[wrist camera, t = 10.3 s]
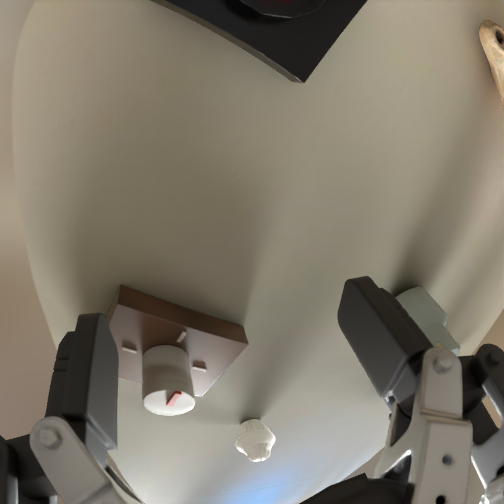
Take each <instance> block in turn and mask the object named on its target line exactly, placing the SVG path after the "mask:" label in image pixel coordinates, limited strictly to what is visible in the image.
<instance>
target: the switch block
mask: <svg viewBox="0 0 504 504" xmlns="http://www.w3.org/2000/svg"><path fill="white" fill-rule="evenodd" d="M151 1H153V2H156V3H158V4H160V5H162V6H164V7H166V8H169V9H171V10H173V11H175V12H177V13H179V14H181V15H183V16H185V17H187V18H189V19H191V20H193V21H195V22H197V23H199V24H201V25H202V26H204V27H206V28H208V29H210V30H212V31H213V32H215V33H217V34H219V35H220V36H222V37H224V38H226V39H227V40H229V41H231V42H233V43H234V44H236V45H238V46H239V47H241V48H242V49H244V50H246V51H247V52H249V53H250V54H252V55H254V56H255V57H257V58H258V59H260V60H261V61H263V62H264V63H266V64H267V65H269V66H270V67H272V68H273V69H275V70H276V71H278V72H279V73H281V74H282V75H284V76H285V77H286V78H288V79H289V80H291V81H292V82H299V83H305V81H306V80H307V79H308V77H309V76H310V74H311V73H312V72H313V70H314V69H315V68H316V66H317V65H318V64H319V62H320V61H321V60H322V58H323V57H324V56H325V54H326V53H327V52H328V50H329V49H330V48H331V46H332V45H333V44H334V42H335V41H336V40H337V38H338V37H339V36H340V34H341V33H342V32H343V31H344V29H345V28H346V27H347V25H348V24H349V23H350V22H351V20H352V19H353V18H354V16H355V15H356V14H357V13H358V11H359V10H360V9H361V8H362V6H363V5H364V4H365V3H366V1H367V0H151Z"/></svg>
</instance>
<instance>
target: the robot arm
mask: <svg viewBox="0 0 504 504" xmlns="http://www.w3.org/2000/svg"><path fill="white" fill-rule="evenodd" d="M338 323H339V326H340V328H341V330H342V332H343V334H344V335H345V337H346V339H347V340H348V342H349V344H350V345H351V347H352V349H353V351H354V352H355V354H356V356H357V357H358V359H359V361H360V363H361V364H362V366H363V368H364V370H365V371H366V373H367V375H368V377H369V378H370V380H371V382H372V384H373V385H374V387H375V389H376V391H377V392H378V394H379V396H380V398H381V399H384V398H387V397H389V396H392V395H393V396H394V398H395V402H394V404H393V409H392V414H391V420H390V425H389V430H388V435H387V439H386V444H385V448H384V452H383V454H382V456H381V458H380V459H379V461H378V464H377V466H376V468H375V471H374V474H373V478H367V476H366V474H365V473H363V474H360V475H358V476H355V477H353V478H350V479H347V480H345V481H342V482H339V483H336V484H334V485H331V486H329V487H327V488H325V489H324V490H322V491H320V492H319V493H317V494H315V495H314V496H312V497H310V498H309V499H307V500H305V501H303V502H301V503H300V504H466V501H467V494H468V487H469V478H470V468H471V460H472V462H473V464H474V466H475V468H476V470H477V473H478V474H479V477H480V479H481V481H482V483H483V485H484V488H485V490H486V491H485V495H483V496H482V497H481V499H480V504H504V352H503V350H501V349H500V348H499V347H498V346H496V345H493V344H484V345H482V346H481V347H480V348H479V350H478V351H477V353H476V354H475V355H472V356H459V357H457V356H456V354H455V353H453V352H452V351H451V350H449V349H447V348H444V347H434V346H433V345H432V343H431V342H430V341H429V339H428V338H427V337H426V335H425V334H424V333H423V331H422V330H421V329H420V328H419V326H418V325H417V324H416V322H415V321H414V320H413V319H412V317H411V316H410V317H409V314H408V312H407V311H406V310H405V309H404V308H402V305H401V304H400V302H399V301H398V300H397V299H396V298H395V296H394V295H392V294H391V293H389V292H388V291H386V290H385V289H383V288H378V286H377V285H376V284H375V283H374V282H373V280H372V279H371V278H370V277H368V276H364V277H359V278H353V279H348V280H347V281H346V282H345V285H344V289H343V293H342V297H341V301H340V305H339V309H338ZM118 371H119V355H118V349H117V346H116V343H115V341H114V338H113V336H112V333H111V331H110V329H109V326H108V324H107V321H106V319H105V316H104V314H103V313H92V314H81V315H79V317H78V321H77V325H76V329H75V331H73V332H67V334H66V335H65V336H64V338H63V339H62V341H61V342H60V344H59V347H58V351H57V356H56V361H55V365H54V372H53V375H52V380H51V385H50V390H49V396H48V402H47V409H46V414H45V417H44V418H43V419H41V420H39V421H38V422H37V423H36V424H35V425H34V427H33V428H32V430H31V433H30V434H28V435H25V436H21V437H17V438H13V439H9V440H5V439H4V438H3V437H2V436H0V504H58V503H57V495H59V496H60V497H61V499H62V500H63V502H64V503H65V504H145V503H144V502H143V501H142V500H141V499H140V498H139V497H138V496H137V495H136V494H135V493H134V492H133V491H132V490H131V489H130V488H129V487H128V486H127V484H126V483H125V482H124V481H123V480H122V479H121V478H120V476H119V475H118V474H117V473H116V472H115V471H114V469H113V468H112V467H111V466H110V465H109V464H108V462H107V450H118V449H117V397H118ZM486 395H488V397H489V399H490V400H491V402H492V404H493V405H494V407H495V409H496V410H497V412H498V413H499V415H500V417H501V420H502V425H501V428H500V429H499V428H497V427H496V425H495V423H494V421H493V420H492V418H491V417H490V415H489V413H488V411H487V409H486V408H485V406H484V404H483V403H482V400H483V399H484V398H485V396H486Z"/></svg>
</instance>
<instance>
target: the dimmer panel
mask: <svg viewBox="0 0 504 504" xmlns="http://www.w3.org/2000/svg"><path fill="white" fill-rule="evenodd" d="M106 321H107V324H108V326H109V329H110V331H111V333H112V336H113V338H114V341H115V343H116V346H117V349H118V355H119V371H118V377H119V378H123V379H126V380H130V381H134V382H138V383H142V357H143V355H144V353H145V352H146V351H147V350H148V349H150V348H152V347H155V346H159V345H171V346H176V347H178V348H181V349H182V350H184V351H185V352H186V353H187V354H188V356H189V360H190V368H191V376H192V383H193V390H194V395H196V396H203V395H204V394H205V392H206V391H207V390H208V389H209V388H210V387H211V386H212V385H213V384H214V383H215V382H216V380H217V379H218V378H219V377H220V376H221V375H222V374H223V373H224V372H225V370H226V369H227V368H228V367H229V366H230V365H231V364H232V363H233V361H234V360H235V359H236V358H237V357H238V356H239V355H240V354H241V352H242V351H243V350H244V349H245V348H246V347H247V346H248V340H247V337H246V334H245V330H244V327H243V326H240V325H237V324H234V323H230V322H227V321H224V320H221V319H218V318H215V317H211V316H208V315H205V314H202V313H199V312H196V311H193V310H190V309H187V308H184V307H181V306H178V305H175V304H172V303H170V302H167V301H164V300H161V299H158V298H155V297H153V296H150V295H147V294H144V293H142V292H139V291H136V290H133V289H131V288H128V287H125V286H123V285H120V286H119V288H118V291H117V293H116V295H115V298H114V300H113V302H112V305H111V307H110V309H109V312H108V314H107V317H106Z"/></svg>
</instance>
